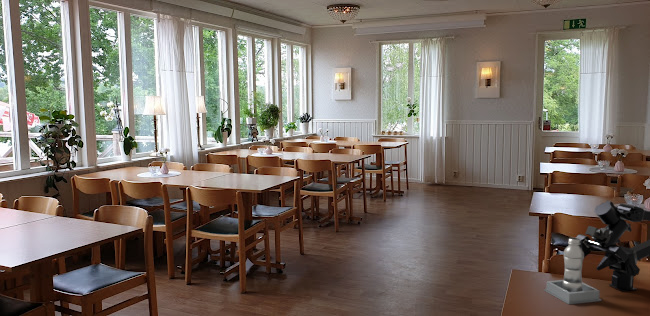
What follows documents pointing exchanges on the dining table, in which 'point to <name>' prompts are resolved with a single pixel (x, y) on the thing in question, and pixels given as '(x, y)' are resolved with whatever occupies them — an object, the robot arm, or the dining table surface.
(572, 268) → the plastic bottle
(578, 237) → the robot arm
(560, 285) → the bottle dock
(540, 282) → the dining table surface
